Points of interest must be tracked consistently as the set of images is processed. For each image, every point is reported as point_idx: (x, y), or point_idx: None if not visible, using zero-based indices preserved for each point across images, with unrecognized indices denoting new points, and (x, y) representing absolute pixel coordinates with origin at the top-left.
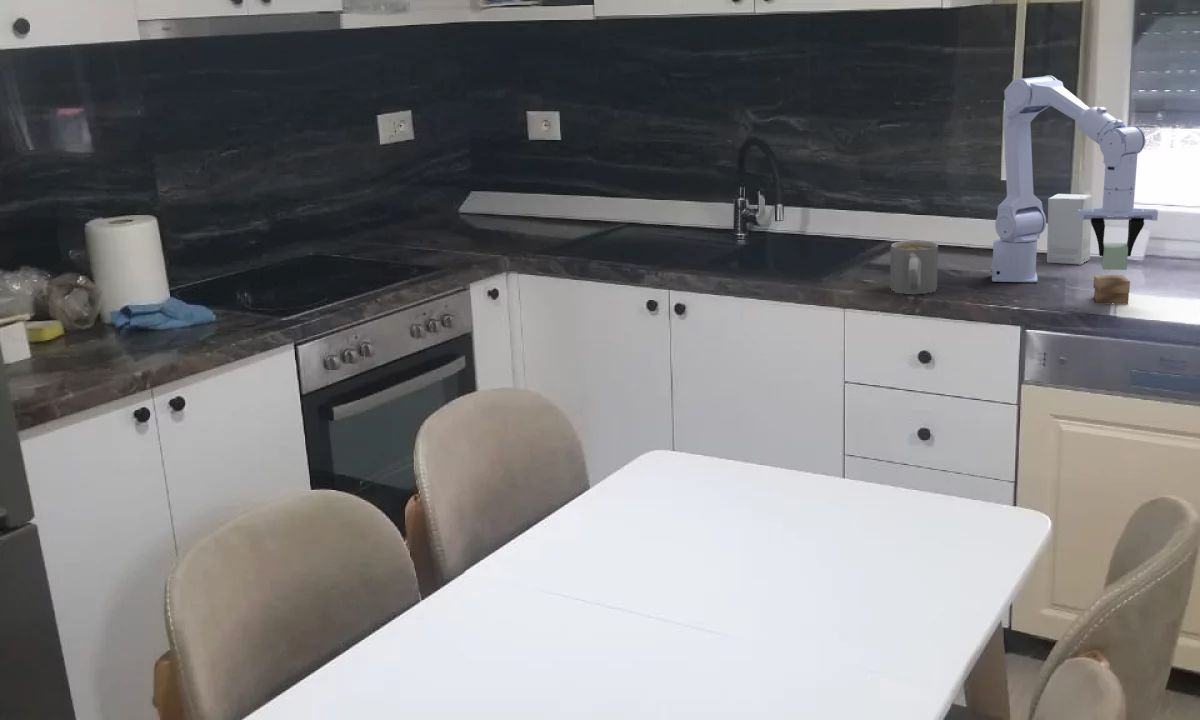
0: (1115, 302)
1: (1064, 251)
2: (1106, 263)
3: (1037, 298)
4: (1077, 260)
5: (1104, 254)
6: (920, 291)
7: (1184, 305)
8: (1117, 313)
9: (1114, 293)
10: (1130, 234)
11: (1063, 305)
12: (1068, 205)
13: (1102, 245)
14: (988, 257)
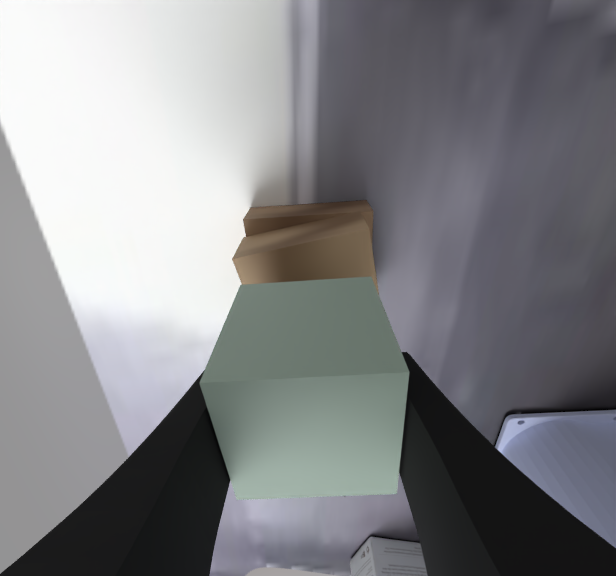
0: (295, 206)
1: (411, 574)
2: (357, 296)
3: (567, 244)
4: (379, 547)
5: (388, 333)
6: None
7: (59, 223)
8: (282, 13)
9: (300, 224)
10: (129, 540)
11: (499, 142)
12: None
13: (424, 408)
14: None
